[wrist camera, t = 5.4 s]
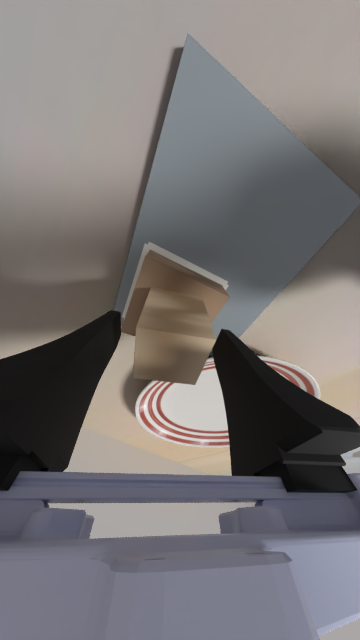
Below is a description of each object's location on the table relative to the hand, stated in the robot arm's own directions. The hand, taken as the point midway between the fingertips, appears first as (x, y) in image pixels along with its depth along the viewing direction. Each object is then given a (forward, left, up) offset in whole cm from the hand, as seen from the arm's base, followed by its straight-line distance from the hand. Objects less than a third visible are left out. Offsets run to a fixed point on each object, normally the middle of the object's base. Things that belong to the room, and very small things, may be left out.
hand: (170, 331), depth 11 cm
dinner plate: (-15, +14, -5) cm, 21 cm away
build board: (-2, -4, -5) cm, 7 cm away
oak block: (0, 0, -2) cm, 2 cm away
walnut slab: (0, 0, -5) cm, 5 cm away
